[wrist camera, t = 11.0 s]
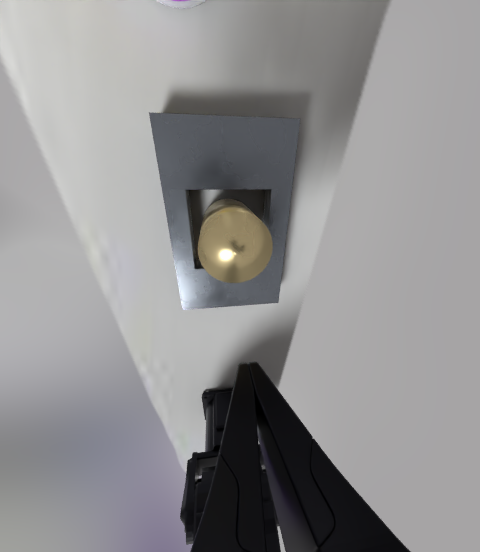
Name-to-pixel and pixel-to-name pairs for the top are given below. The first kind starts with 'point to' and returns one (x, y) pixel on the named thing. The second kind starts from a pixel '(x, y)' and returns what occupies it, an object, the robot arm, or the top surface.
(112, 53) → the top surface
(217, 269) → the gold rounded cylinder
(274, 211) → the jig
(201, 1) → the supplement bottle
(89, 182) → the top surface
